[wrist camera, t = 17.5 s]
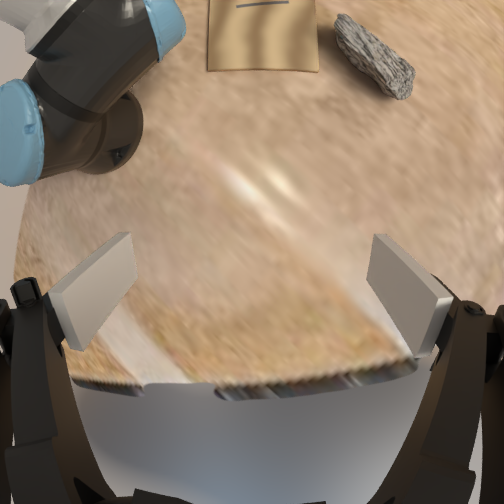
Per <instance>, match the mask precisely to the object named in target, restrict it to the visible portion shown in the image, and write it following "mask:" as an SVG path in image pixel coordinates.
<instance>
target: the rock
mask: <svg viewBox="0 0 504 504" xmlns="http://www.w3.org/2000/svg"><path fill="white" fill-rule="evenodd" d="M337 16H338V19H337V20H336V21H335V23H334V27H335V30H336V32H335V33H336V42H337V45H338V46H339V47H340V49H341V50H342V51H343V52H344V54H345V55H346V57H347V58H348V60H349V61H350V62H351V63H352V64H353V65H354V66H355V67H356V68H357V69H359V70H360V71H361V72H364V73H366V74H367V75H369V76H370V77H371V78H372V79H373V80H375V82H376V83H377V84H378V86H379V87H380V89H381V90H382V92H383V93H385V94H387V95H389V96H390V97H394V98H395V99H397V100H404V99H406V98H408V97H409V96H410V95H411V92H412V89H413V80H414V78H415V73H416V72H415V70H414V68H413V67H412V66H411V65H410V64H409V63H408V62H407V61H406V60H405V59H402V58H401V57H400V56H398V55H397V54H396V53H395V52H394V51H393V50H392V49H390V48H389V47H388V46H387V45H386V44H384V43H383V42H382V41H380V39H379V38H378V37H377V36H375V35H373V34H372V33H371V32H369V31H368V30H367V29H366V28H364V27H363V26H361V25H360V24H358V23H356V22H355V21H354V20H353V19H352V18H351V17H349V16H348V15H346V14H338V15H337Z"/></svg>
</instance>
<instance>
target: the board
mask: <svg viewBox="0 0 504 504" xmlns="http://www.w3.org/2000/svg"><path fill="white" fill-rule="evenodd" d="M231 70H284V71H302V72H314V73H318V72H319V61H318V39H317V22H316V9H315V0H210V13H209V40H208V71H209V72H213V71H231Z"/></svg>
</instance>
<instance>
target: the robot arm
mask: <svg viewBox="0 0 504 504" xmlns="http://www.w3.org/2000/svg"><path fill="white" fill-rule="evenodd" d="M0 20H2V21H4V22H6V23H8V24H10V25H12V26H14V27H16V28H17V29H19V30H21V31H23V32H24V35H25V46H26V52H27V53H29V54H31V55H33V56H35V57H37V59H36V61H35V62H34V63H33V65H32V66H31V68H30V69H29V70H28V72H27V74H26V75H25V77H24V78H23V79H22V80H21V79H13V80H11V81H9V82H7V83H6V84H4V85H2V86H1V87H0V183H2V184H3V185H6V186H10V187H14V186H19V185H24V184H28V185H29V184H33V183H34V182H36V181H38V180H41V179H44V178H47V177H50V176H54V175H57V174H60V173H64V172H67V171H71V170H75V169H76V170H79V171H82V172H85V173H88V174H103V173H107V172H110V171H113V170H116V169H117V168H119V167H121V166H122V165H124V164H125V163H126V162H127V161H128V160H129V159H130V158H131V156H132V155H133V154H134V152H135V151H136V149H137V147H138V145H139V142H140V139H141V136H142V131H143V114H142V110H141V106H140V104H139V102H138V100H137V99H136V97H135V96H134V95H133V94H132V93H131V92H130V91H129V89H130V88H131V87H132V86H133V85H134V84H135V83H136V82H137V81H138V80H139V79H140V78H141V77H142V76H143V75H144V74H145V73H146V72H147V71H148V70H149V69H150V68H152V67H153V66H154V65H155V64H156V63H157V62H158V63H159V62H160V61H162V59H163V56H165V55H166V54H167V53H168V52H169V51H170V50H171V49H172V48H173V47H174V46H176V45H177V44H178V43H179V42H180V41H181V40H182V39H183V37H184V36H185V33H186V23H185V20H184V17H183V15H182V13H181V11H180V9H179V7H178V6H177V4H176V2H175V1H174V0H0ZM137 278H138V273H137V268H136V262H135V256H134V251H133V244H132V238H131V232H119V233H118V234H116V235H115V236H114V237H112V238H111V239H110V240H109V241H107V242H106V243H105V244H103V245H102V246H101V247H100V248H98V249H97V250H96V251H95V252H93V253H92V254H91V255H90V256H88V257H87V258H86V259H85V260H83V261H82V262H81V263H80V264H79V265H77V266H76V267H75V268H74V269H73V270H72V271H70V272H69V273H68V274H67V275H66V276H65V277H63V278H62V279H61V280H60V281H59V282H58V283H57V284H56V285H54V286H53V287H52V288H51V289H50V290H49V291H48V292H47V293H46V294H45V295H43V296H42V295H41V292H40V289H39V286H38V283H37V280H36V278H34V277H28V278H24V279H21V280H19V281H17V282H16V283H14V284H13V285H12V286H11V288H10V290H11V293H12V296H13V298H14V301H15V303H16V306H17V309H10V308H9V306H8V303H7V301H6V300H5V299H0V345H1V347H2V349H3V353H1V351H0V504H11V493H12V497H13V501H14V504H192V503H189V502H187V501H184V500H182V499H179V498H175V497H170V496H165V495H160V494H156V493H151V492H147V491H143V490H139V489H135V491H134V494H133V496H128V497H116V495H115V494H114V492H113V491H112V490H111V489H110V487H109V486H108V485H107V483H106V481H105V480H104V478H103V476H102V473H101V471H100V469H99V467H98V464H97V462H96V459H95V457H94V455H93V452H92V450H91V447H90V444H89V441H88V439H87V436H86V433H85V430H84V427H83V424H82V421H81V418H80V415H79V412H78V408H77V405H76V401H75V398H74V394H73V390H72V386H71V382H70V377H69V373H68V368H67V363H66V358H65V353H64V349H63V347H62V344H61V342H62V341H63V339H64V338H66V341H67V343H68V345H69V347H70V349H74V350H78V351H83V352H84V350H85V349H86V347H87V346H88V344H89V343H90V342H91V340H92V339H93V337H94V336H95V334H96V333H97V332H98V330H99V329H100V327H101V326H102V325H103V323H104V322H105V320H106V319H107V318H108V316H109V315H110V314H111V312H112V311H113V310H114V308H115V307H116V306H117V304H118V303H119V302H120V300H121V299H122V298H123V296H124V295H125V294H126V292H127V291H128V290H129V288H130V287H131V286H132V285H133V283H134V282H135V281H136V280H137ZM366 280H367V281H368V283H369V284H370V286H371V287H372V289H373V290H374V292H375V293H376V295H377V296H378V298H379V300H380V301H381V303H382V304H383V306H384V307H385V309H386V310H387V312H388V314H389V315H390V317H391V318H392V320H393V322H394V323H395V325H396V327H397V328H398V330H399V331H400V333H401V335H402V336H403V338H404V340H405V341H406V343H407V345H408V347H409V348H410V350H411V352H412V353H413V355H414V357H415V358H420V357H425V356H430V355H431V352H432V350H433V348H434V346H435V344H436V345H437V346H438V348H439V349H440V350H439V352H438V354H437V356H436V358H435V361H434V363H433V364H432V366H431V369H430V371H432V373H431V376H430V379H429V382H428V385H427V388H426V391H425V393H424V396H423V399H422V401H421V404H420V407H419V409H418V412H417V414H416V417H415V419H414V421H413V424H412V426H411V428H410V430H409V433H408V435H407V437H406V439H405V441H404V443H403V446H402V448H401V450H400V451H399V453H398V455H397V458H396V459H395V461H394V463H393V465H392V467H391V469H390V470H389V472H388V474H387V476H386V477H385V479H384V481H383V483H382V484H381V486H380V487H379V489H378V490H377V492H376V494H375V495H374V496H373V497H372V499H371V500H370V501H369V502H368V503H367V504H468V502H469V499H470V496H471V493H472V490H473V487H474V484H475V479H476V474H475V471H471V470H469V462H470V459H471V455H472V451H473V447H474V443H475V438H476V433H477V429H478V423H479V418H480V413H481V419H482V444H483V453H482V459H483V460H482V479H481V491H480V500H479V504H504V305H500V306H499V307H498V309H497V312H496V314H495V315H487V314H486V312H485V310H484V309H483V308H482V307H481V306H480V305H479V304H477V303H475V302H472V301H468V300H466V301H461V300H460V299H459V298H458V297H457V296H456V295H455V294H454V293H453V292H452V291H451V290H450V289H448V287H447V286H446V285H445V284H443V282H442V281H441V280H439V279H438V278H437V277H436V276H434V275H432V274H430V273H429V272H428V271H427V270H426V269H425V268H424V267H423V266H422V265H420V264H419V263H418V262H417V261H416V260H415V259H414V258H413V257H412V256H411V255H410V254H408V253H407V252H406V251H405V250H404V249H403V248H402V247H401V246H399V245H398V244H397V243H396V242H395V241H394V240H393V239H391V238H390V237H389V236H388V235H387V234H374V237H373V243H372V250H371V256H370V262H369V267H368V273H367V278H366ZM502 357H503V359H502V360H501V358H502ZM13 432H14V440H15V446H12V442H13ZM304 504H326V501H323V502H315V503H304Z"/></svg>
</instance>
